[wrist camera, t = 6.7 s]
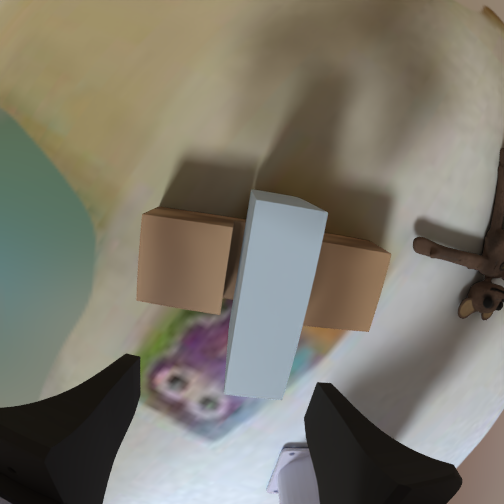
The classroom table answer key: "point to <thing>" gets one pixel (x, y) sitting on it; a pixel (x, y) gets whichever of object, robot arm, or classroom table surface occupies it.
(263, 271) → the pale grey-blue block
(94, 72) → the classroom table surface
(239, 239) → the brown u-shaped block
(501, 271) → the brown monkey toy
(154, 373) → the classroom table surface
